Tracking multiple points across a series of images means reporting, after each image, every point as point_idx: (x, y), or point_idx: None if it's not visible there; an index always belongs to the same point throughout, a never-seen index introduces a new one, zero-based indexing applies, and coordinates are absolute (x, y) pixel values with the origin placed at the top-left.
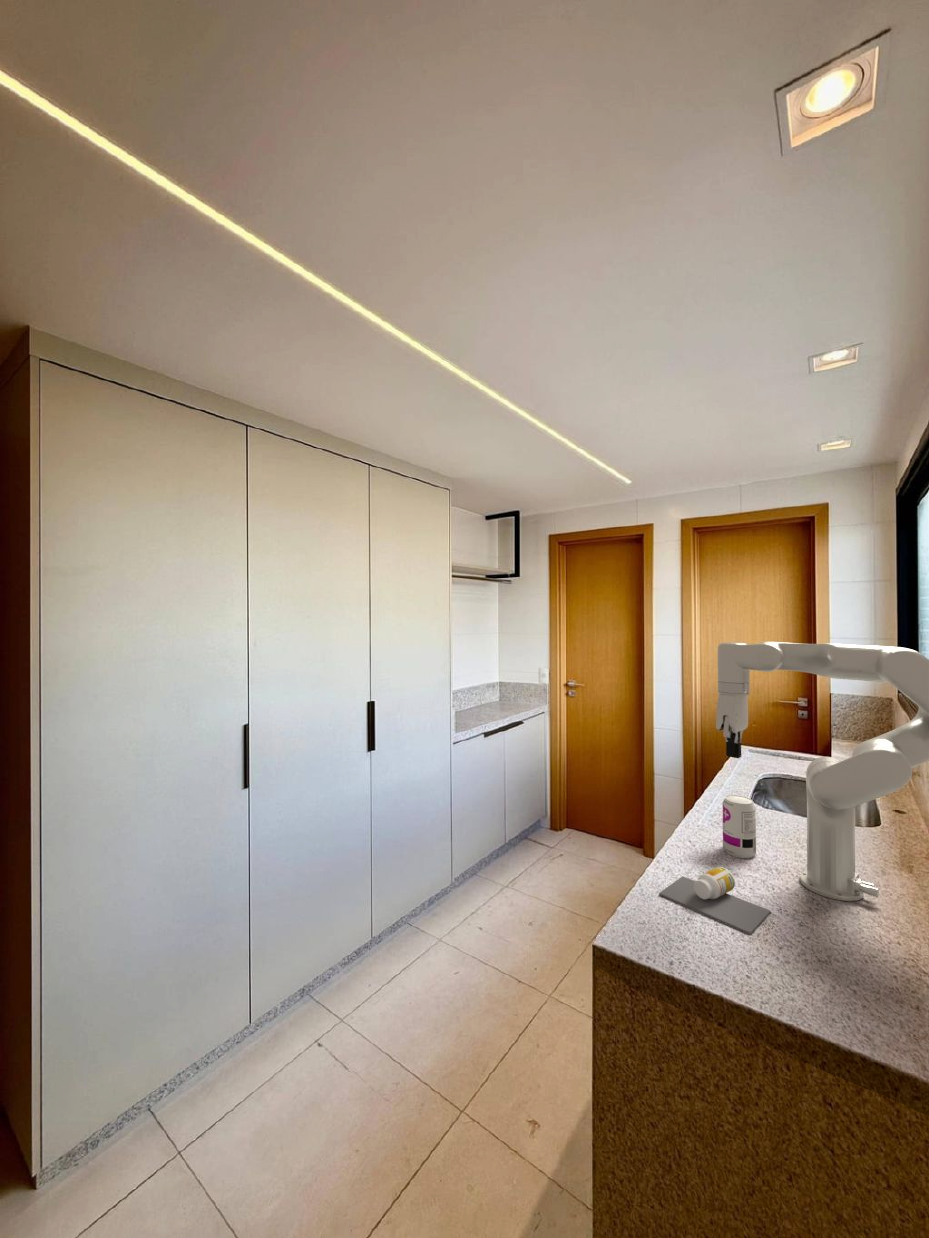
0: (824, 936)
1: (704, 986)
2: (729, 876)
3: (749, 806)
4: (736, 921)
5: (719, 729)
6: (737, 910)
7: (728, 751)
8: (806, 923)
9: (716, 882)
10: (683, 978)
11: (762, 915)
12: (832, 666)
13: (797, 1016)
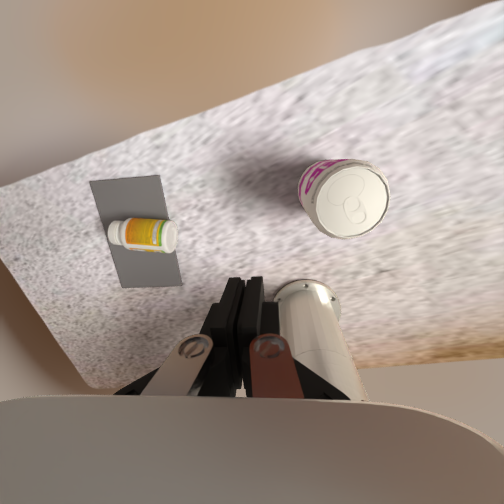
0: (187, 328)
1: (24, 290)
2: (159, 251)
3: (333, 234)
4: (127, 271)
5: (47, 405)
6: (147, 263)
7: (211, 307)
8: (195, 312)
9: (127, 248)
10: (13, 275)
11: (163, 284)
12: None
13: (67, 340)
